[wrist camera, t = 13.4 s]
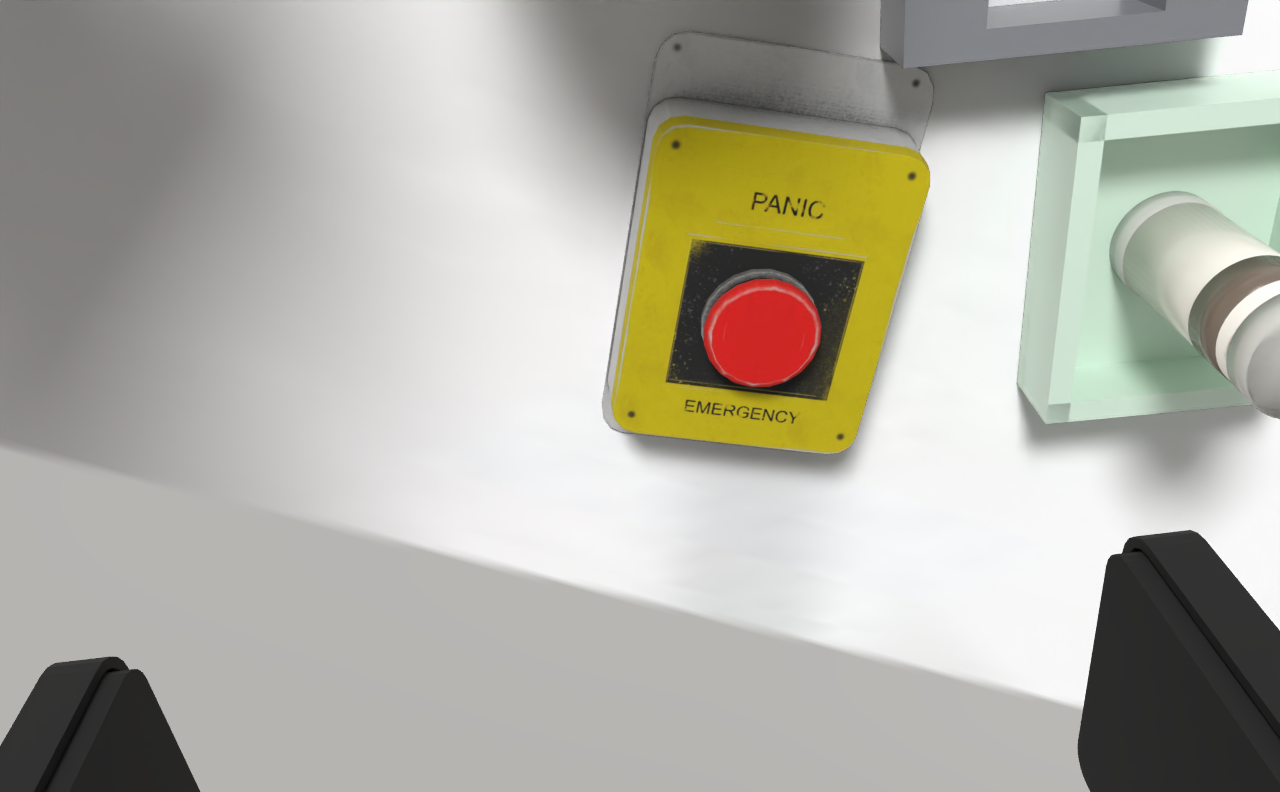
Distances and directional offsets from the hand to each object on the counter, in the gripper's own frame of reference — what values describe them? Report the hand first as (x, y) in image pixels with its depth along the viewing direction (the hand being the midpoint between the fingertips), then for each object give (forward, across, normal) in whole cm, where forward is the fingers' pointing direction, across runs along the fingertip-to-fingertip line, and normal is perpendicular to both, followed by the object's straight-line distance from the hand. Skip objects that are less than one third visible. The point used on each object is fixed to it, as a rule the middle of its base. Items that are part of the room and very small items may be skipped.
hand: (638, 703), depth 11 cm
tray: (+27, -19, +8) cm, 34 cm away
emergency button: (+28, -5, +8) cm, 29 cm away
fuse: (+26, -19, +8) cm, 33 cm away
